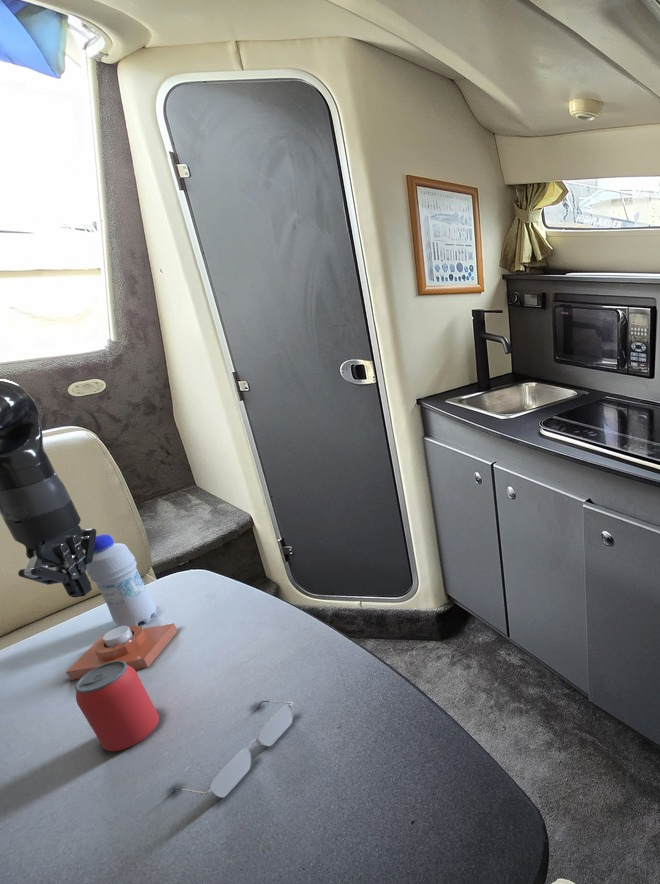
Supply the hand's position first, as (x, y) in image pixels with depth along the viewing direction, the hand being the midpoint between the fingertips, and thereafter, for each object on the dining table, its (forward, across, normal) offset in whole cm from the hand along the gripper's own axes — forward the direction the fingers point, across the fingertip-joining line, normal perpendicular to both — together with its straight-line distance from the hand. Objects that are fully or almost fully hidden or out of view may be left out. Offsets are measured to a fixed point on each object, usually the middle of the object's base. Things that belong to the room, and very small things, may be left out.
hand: (82, 594), depth 84 cm
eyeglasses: (+15, +25, +31) cm, 43 cm away
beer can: (+15, +18, +13) cm, 27 cm away
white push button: (+11, -1, +1) cm, 11 cm away
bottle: (+15, -11, -3) cm, 19 cm away
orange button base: (+15, -1, +1) cm, 15 cm away
